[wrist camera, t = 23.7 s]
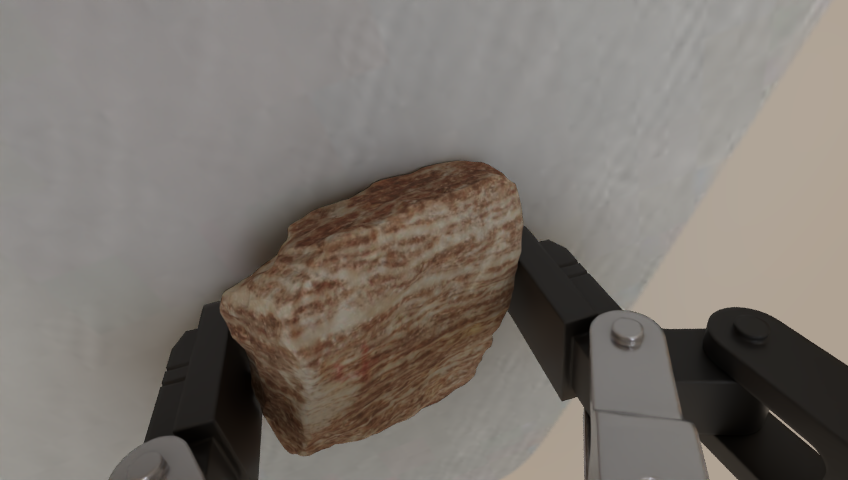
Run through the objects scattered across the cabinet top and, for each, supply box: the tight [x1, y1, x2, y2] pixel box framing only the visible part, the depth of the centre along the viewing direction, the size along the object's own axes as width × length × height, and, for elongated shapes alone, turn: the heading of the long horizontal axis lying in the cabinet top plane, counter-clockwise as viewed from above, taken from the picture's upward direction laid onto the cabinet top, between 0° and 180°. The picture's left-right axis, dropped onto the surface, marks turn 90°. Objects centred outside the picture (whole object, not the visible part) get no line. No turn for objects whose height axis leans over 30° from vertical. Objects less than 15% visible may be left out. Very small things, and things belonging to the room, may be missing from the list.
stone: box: [220, 161, 523, 456], centre depth 11 cm, size 7×6×5 cm
